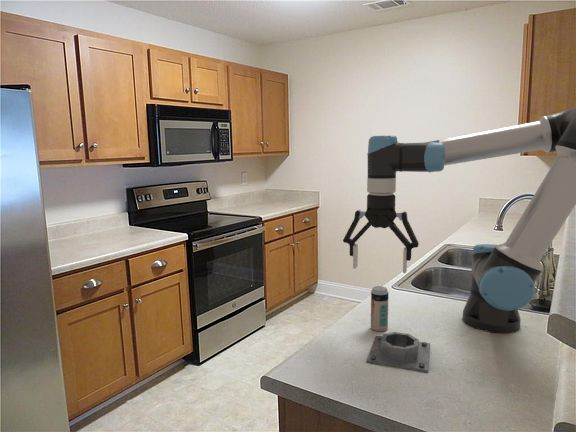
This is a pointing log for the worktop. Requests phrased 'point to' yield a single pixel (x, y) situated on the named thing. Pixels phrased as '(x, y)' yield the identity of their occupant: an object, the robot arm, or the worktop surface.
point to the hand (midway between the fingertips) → (379, 269)
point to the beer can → (379, 308)
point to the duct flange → (400, 352)
